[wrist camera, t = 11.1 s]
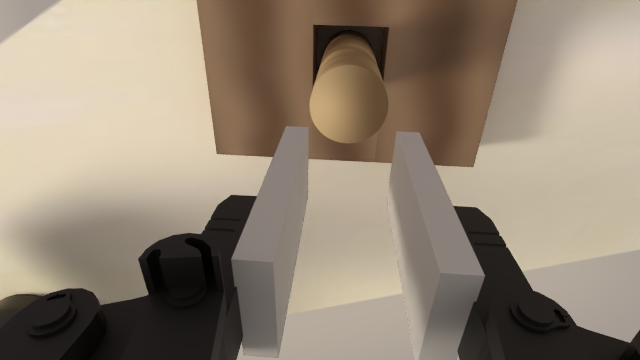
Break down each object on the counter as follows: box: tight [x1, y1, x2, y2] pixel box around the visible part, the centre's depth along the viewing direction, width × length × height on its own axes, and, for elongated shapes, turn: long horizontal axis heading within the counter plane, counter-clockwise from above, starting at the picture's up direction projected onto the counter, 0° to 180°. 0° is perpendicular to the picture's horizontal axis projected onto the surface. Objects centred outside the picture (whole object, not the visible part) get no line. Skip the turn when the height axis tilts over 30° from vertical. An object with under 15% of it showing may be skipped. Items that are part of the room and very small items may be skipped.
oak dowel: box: [309, 29, 389, 143], centre depth 24 cm, size 4×4×14 cm
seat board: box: [197, 0, 517, 167], centre depth 29 cm, size 22×16×4 cm
